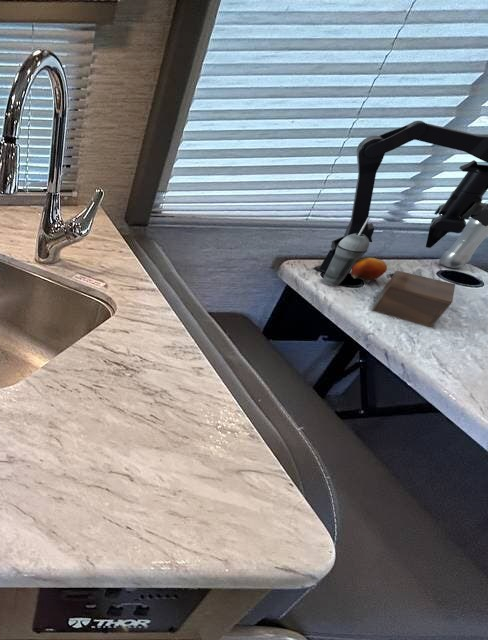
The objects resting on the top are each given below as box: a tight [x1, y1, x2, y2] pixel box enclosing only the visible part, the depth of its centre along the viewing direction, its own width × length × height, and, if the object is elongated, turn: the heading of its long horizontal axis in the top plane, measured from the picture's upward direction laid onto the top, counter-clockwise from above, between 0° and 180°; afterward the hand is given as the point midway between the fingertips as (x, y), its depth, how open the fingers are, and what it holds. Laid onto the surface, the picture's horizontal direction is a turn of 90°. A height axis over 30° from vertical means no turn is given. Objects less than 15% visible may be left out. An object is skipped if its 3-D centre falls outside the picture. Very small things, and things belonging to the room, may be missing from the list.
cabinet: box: [372, 270, 456, 328], centre depth 108 cm, size 14×13×8 cm
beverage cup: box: [321, 217, 371, 287], centre depth 117 cm, size 7×7×20 cm
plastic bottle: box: [438, 217, 488, 269], centre depth 124 cm, size 6×7×20 cm
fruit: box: [350, 256, 388, 284], centre depth 123 cm, size 8×8×8 cm
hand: (428, 247), depth 114 cm, fingers closed
